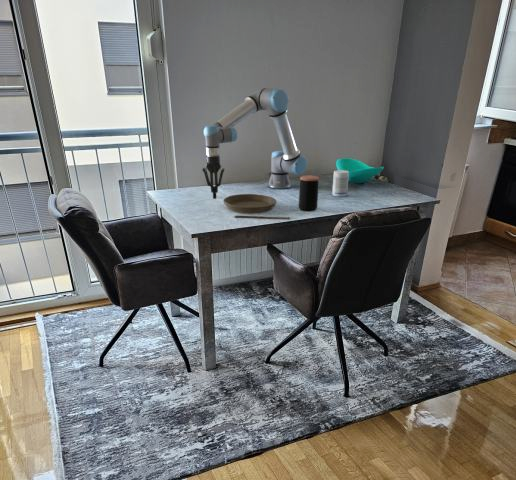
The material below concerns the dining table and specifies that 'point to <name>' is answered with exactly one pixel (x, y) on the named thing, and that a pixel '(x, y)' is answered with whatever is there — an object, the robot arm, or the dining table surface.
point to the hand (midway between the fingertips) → (214, 198)
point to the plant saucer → (249, 203)
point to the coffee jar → (308, 193)
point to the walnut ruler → (261, 217)
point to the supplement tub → (340, 183)
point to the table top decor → (357, 170)
